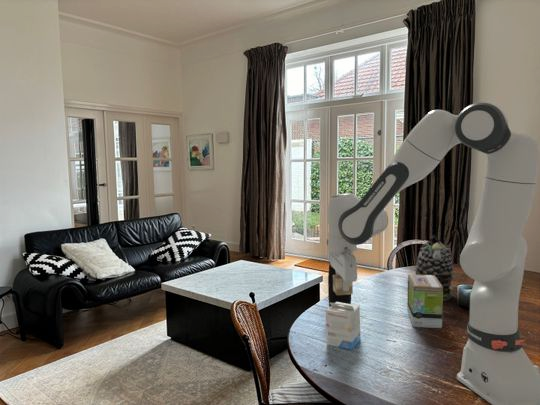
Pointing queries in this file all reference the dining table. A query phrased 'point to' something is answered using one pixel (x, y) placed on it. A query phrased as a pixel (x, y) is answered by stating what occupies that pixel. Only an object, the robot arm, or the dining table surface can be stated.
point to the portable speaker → (331, 293)
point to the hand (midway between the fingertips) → (342, 287)
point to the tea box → (425, 301)
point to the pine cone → (436, 264)
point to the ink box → (343, 325)
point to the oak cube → (338, 286)
